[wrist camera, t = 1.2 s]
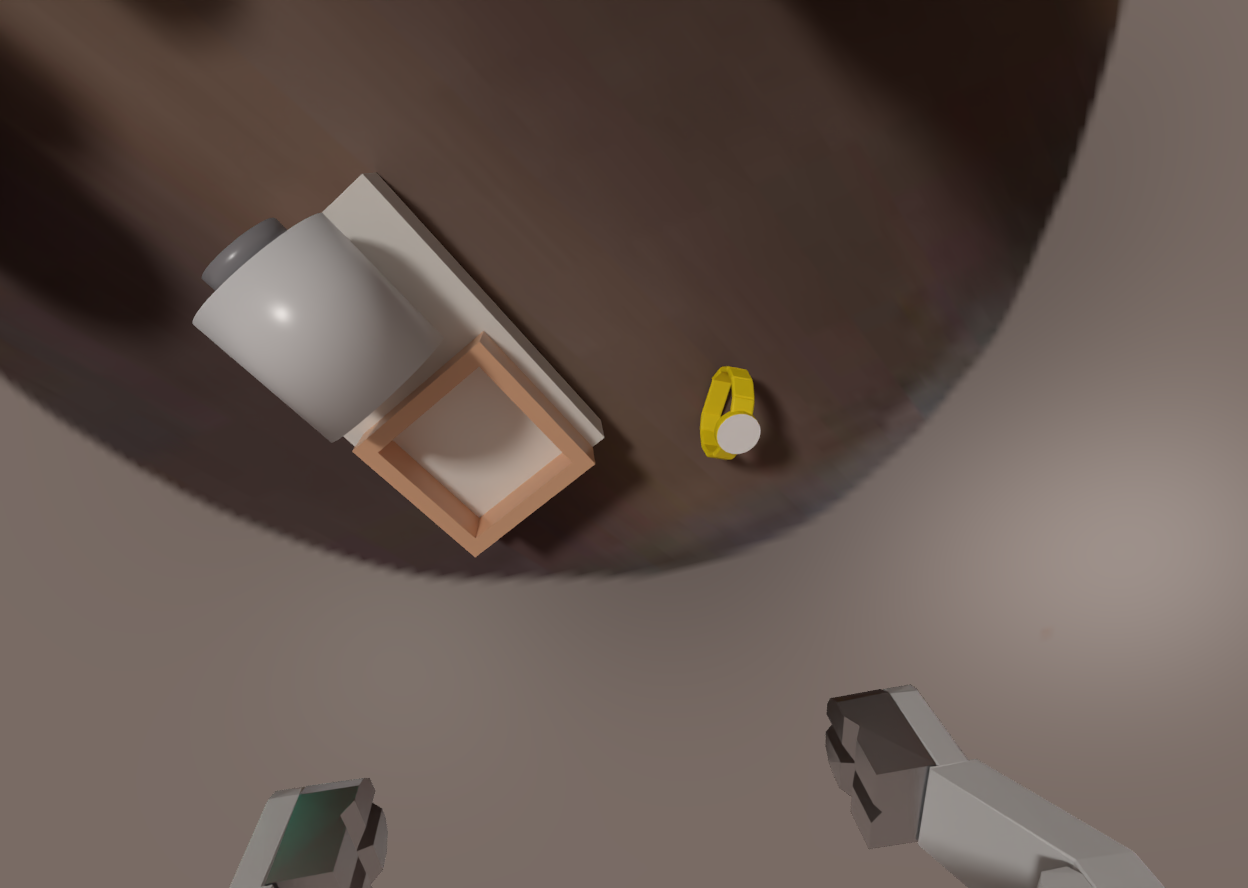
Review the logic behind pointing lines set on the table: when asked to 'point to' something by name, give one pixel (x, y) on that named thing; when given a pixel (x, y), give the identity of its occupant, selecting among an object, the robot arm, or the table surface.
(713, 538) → the table surface
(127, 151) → the table surface
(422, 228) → the motor
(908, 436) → the table surface
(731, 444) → the watch
